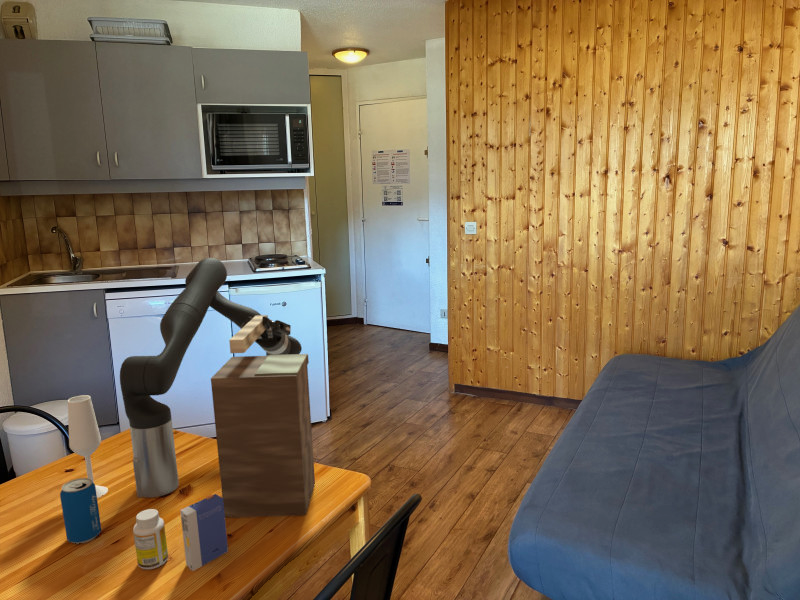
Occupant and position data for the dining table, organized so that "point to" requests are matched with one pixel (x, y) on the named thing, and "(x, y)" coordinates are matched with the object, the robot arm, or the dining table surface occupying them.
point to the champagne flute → (84, 433)
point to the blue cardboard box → (204, 531)
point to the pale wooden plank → (247, 335)
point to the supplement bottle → (150, 539)
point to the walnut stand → (264, 435)
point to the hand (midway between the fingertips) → (256, 320)
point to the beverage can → (80, 510)
